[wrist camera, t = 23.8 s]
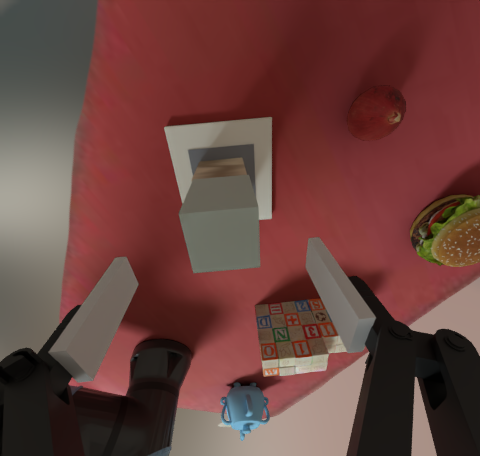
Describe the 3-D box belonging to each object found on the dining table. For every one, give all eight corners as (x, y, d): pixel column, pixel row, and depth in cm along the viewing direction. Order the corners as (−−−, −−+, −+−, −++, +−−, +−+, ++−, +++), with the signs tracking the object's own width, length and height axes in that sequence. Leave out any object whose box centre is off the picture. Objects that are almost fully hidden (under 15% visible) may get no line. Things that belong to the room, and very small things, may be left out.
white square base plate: (188, 222, 36) (187, 227, 35) (166, 126, 28) (163, 127, 27) (270, 215, 36) (271, 219, 35) (270, 116, 28) (272, 117, 27)
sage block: (202, 227, 26) (193, 273, 19) (193, 179, 22) (178, 213, 16) (251, 222, 26) (260, 267, 19) (248, 174, 23) (258, 206, 16)
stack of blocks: (347, 294, 48) (380, 348, 37) (342, 311, 51) (372, 366, 41) (254, 304, 48) (261, 362, 38) (255, 321, 51) (263, 378, 41)
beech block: (206, 200, 32) (201, 227, 26) (199, 161, 29) (191, 180, 22) (245, 197, 32) (250, 222, 26) (242, 157, 29) (247, 174, 23)
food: (500, 205, 38) (561, 228, 31) (431, 259, 44) (469, 289, 37) (457, 168, 34) (516, 186, 27) (388, 234, 40) (421, 261, 33)
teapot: (251, 373, 65) (253, 419, 56) (272, 391, 71) (278, 436, 62) (217, 384, 68) (214, 430, 59) (241, 401, 74) (241, 445, 65)
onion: (352, 79, 27) (396, 73, 20) (389, 97, 28) (441, 96, 21) (328, 128, 29) (359, 136, 22) (362, 141, 31) (401, 153, 24)
